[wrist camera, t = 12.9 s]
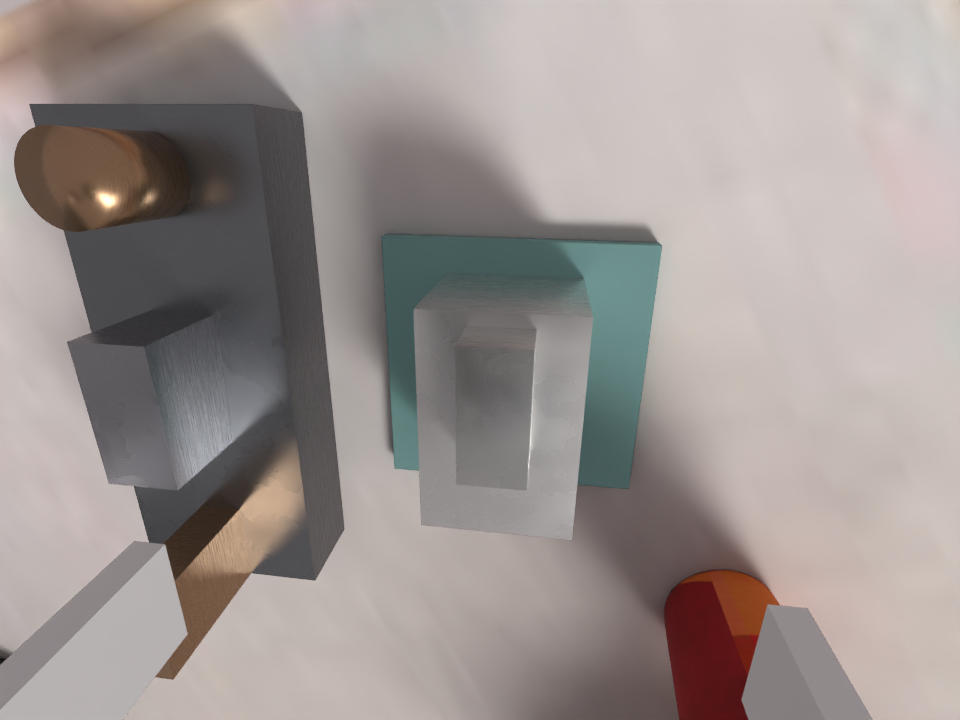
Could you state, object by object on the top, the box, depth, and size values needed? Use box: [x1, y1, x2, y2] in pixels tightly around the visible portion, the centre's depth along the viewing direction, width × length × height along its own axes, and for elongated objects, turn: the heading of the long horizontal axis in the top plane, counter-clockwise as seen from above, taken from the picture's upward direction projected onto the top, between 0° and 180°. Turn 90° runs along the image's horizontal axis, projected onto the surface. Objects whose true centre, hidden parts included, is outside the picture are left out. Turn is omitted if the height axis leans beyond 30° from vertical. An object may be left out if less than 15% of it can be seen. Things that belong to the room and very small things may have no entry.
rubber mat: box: [382, 234, 662, 489], centre depth 25 cm, size 12×12×1 cm
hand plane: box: [14, 104, 344, 680], centre depth 22 cm, size 9×22×10 cm, turn 0°
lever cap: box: [414, 272, 593, 540], centre depth 21 cm, size 6×9×8 cm, turn 0°
